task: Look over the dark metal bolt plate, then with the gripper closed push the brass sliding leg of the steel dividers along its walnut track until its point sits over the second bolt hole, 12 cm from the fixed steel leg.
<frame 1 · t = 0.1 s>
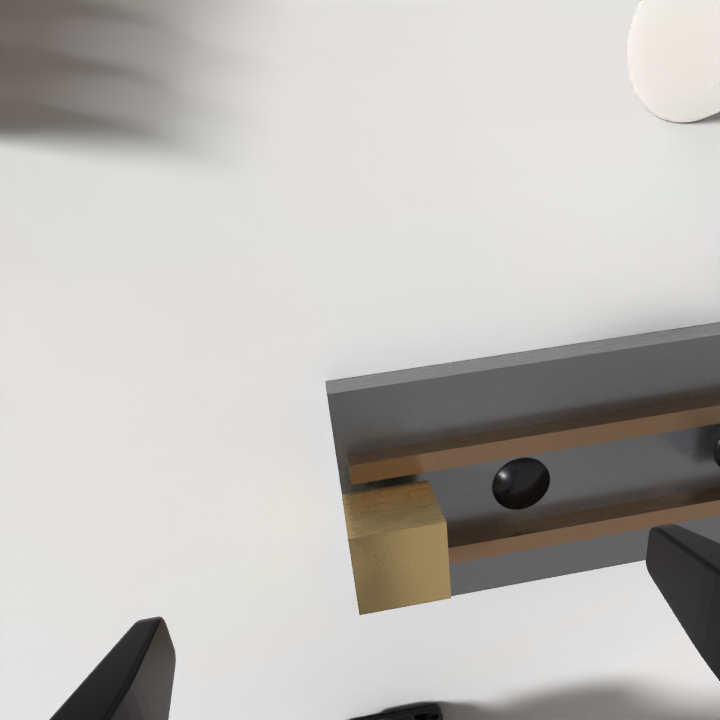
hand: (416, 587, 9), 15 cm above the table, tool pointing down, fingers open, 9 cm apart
bolt plate: (571, 457, 26), on the table
beer glass: (690, 42, 20), on the table
sliding leg: (394, 543, 21), point 4 cm above the table, slide at 0.0 cm
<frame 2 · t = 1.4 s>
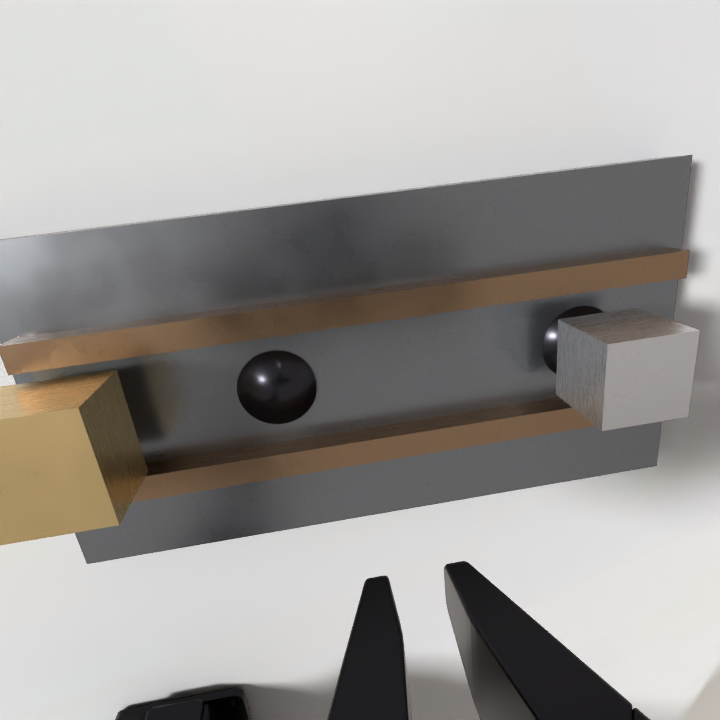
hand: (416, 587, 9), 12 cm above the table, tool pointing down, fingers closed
bolt plate: (363, 361, 20), on the table
sliding leg: (55, 452, 15), point 4 cm above the table, slide at 0.0 cm
fixed leg: (559, 332, 21), resting on bolt plate
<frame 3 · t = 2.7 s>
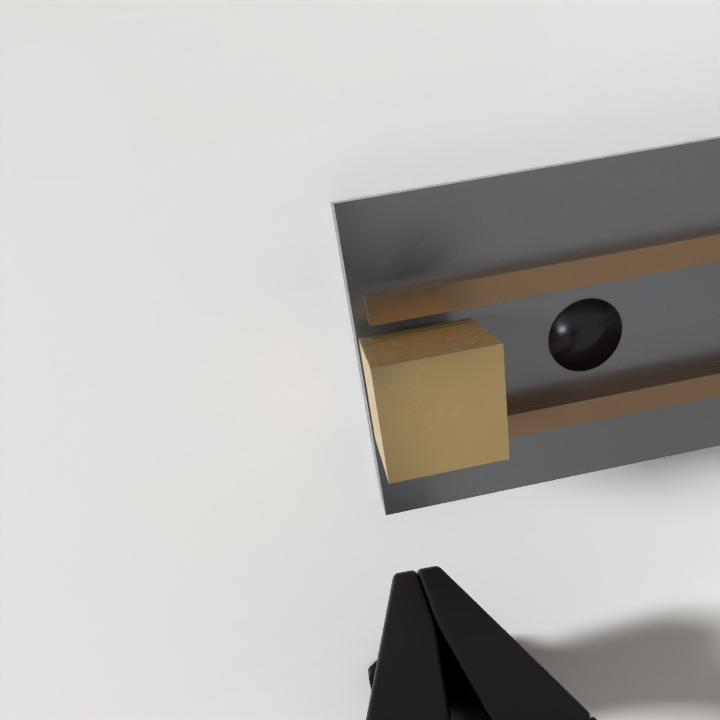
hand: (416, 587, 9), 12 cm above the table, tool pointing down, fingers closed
bolt plate: (643, 310, 21), on the table
sliding leg: (430, 395, 16), point 4 cm above the table, slide at 0.0 cm
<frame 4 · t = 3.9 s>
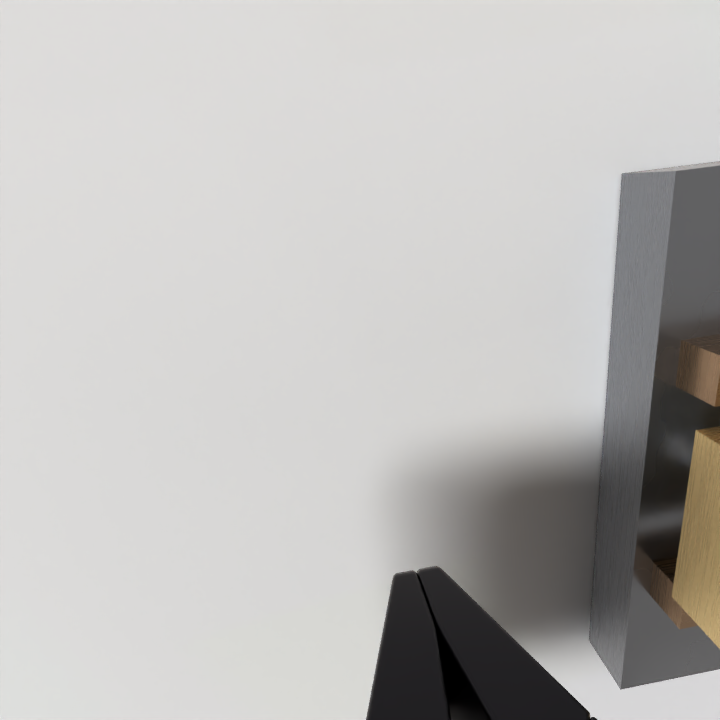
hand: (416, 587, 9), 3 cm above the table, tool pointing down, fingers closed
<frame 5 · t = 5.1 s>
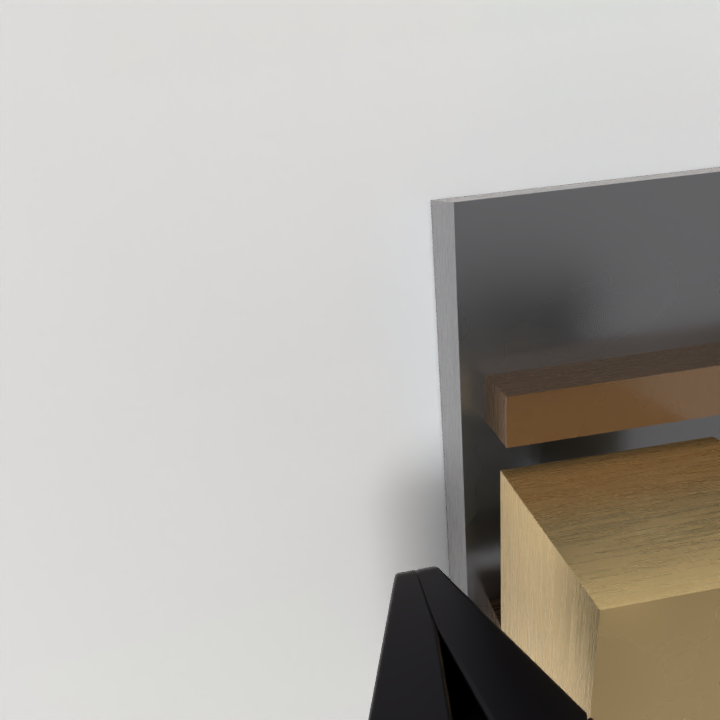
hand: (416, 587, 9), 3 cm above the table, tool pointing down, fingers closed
sliding leg: (650, 601, 8), point 4 cm above the table, slide at 0.3 cm, touching gripper
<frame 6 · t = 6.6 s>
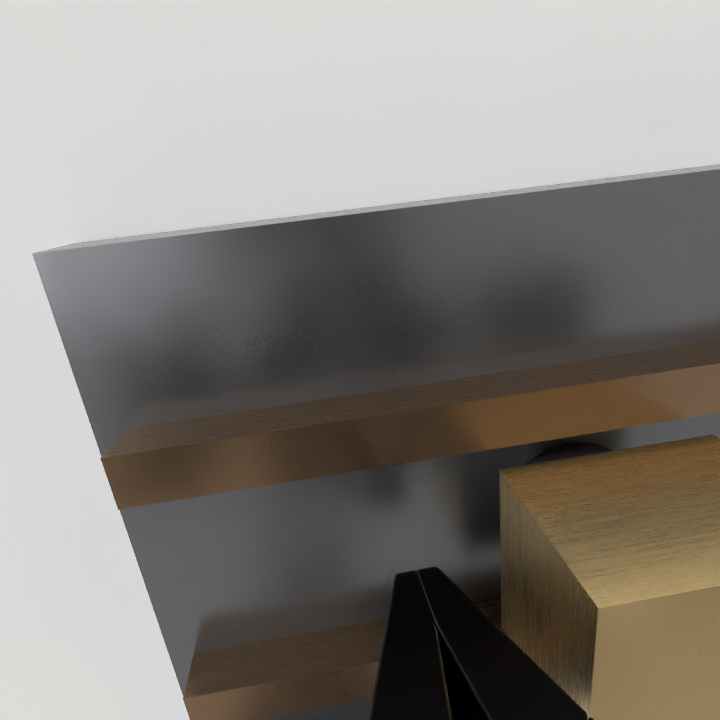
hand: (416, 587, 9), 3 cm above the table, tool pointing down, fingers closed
bolt plate: (669, 444, 12), on the table
sliding leg: (650, 599, 8), point 4 cm above the table, slide at 7.0 cm, touching gripper
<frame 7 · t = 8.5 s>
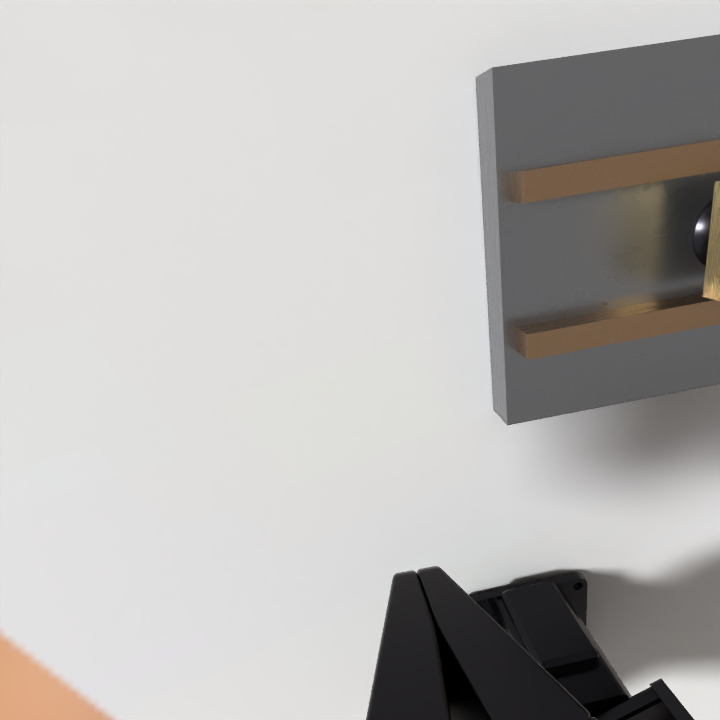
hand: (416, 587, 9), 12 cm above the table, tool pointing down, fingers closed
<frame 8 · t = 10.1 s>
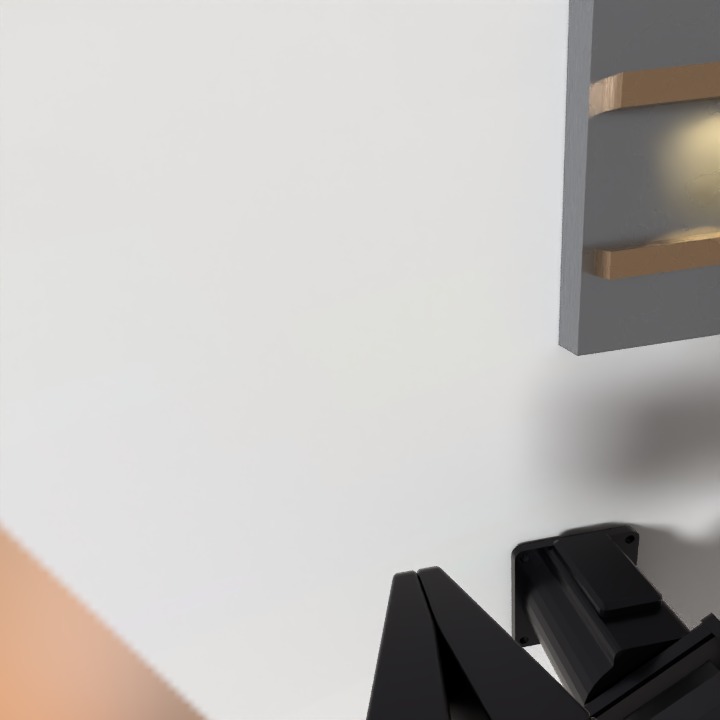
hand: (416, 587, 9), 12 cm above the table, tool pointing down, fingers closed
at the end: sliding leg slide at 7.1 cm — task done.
